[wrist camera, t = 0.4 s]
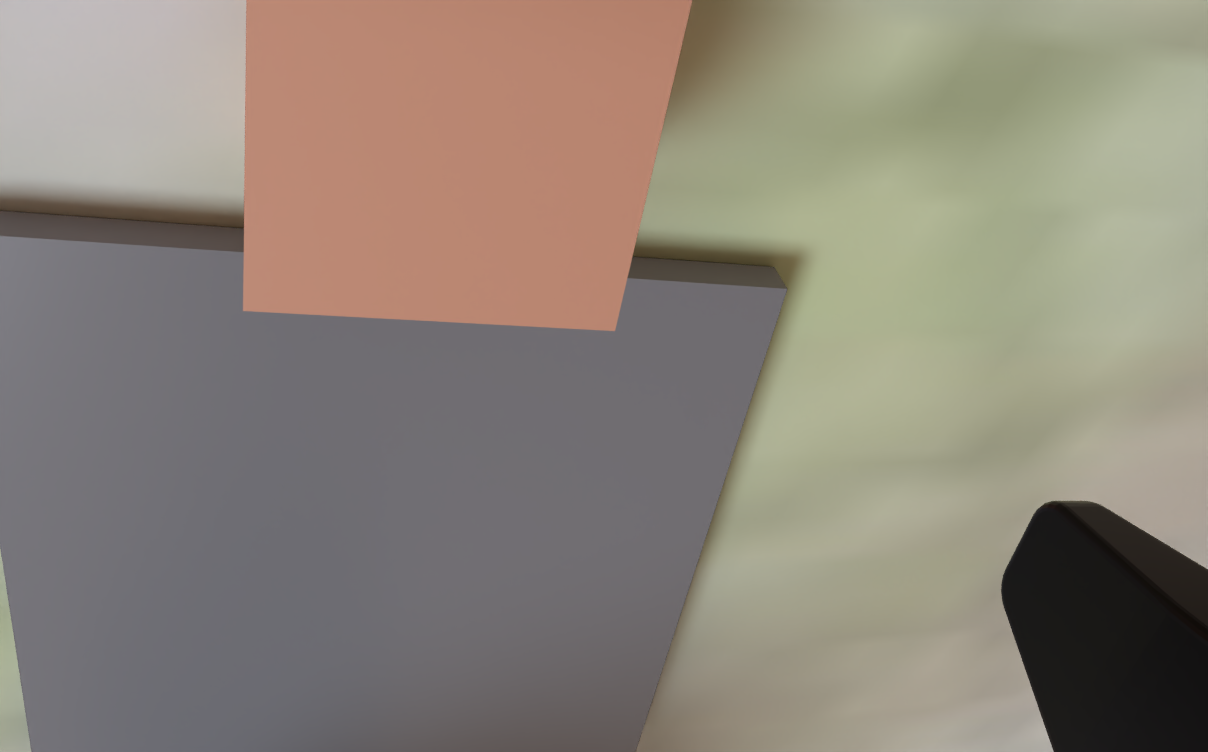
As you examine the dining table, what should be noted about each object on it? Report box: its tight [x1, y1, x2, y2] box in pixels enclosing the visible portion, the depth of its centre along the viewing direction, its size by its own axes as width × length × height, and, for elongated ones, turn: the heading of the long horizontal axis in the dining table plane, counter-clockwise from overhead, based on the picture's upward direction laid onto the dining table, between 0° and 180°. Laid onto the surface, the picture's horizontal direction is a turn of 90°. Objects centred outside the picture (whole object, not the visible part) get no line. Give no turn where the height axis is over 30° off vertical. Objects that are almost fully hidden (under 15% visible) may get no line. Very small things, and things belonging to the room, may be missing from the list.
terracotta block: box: [243, 0, 692, 331], centre depth 16 cm, size 5×5×5 cm
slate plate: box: [0, 211, 787, 752], centre depth 24 cm, size 14×14×1 cm
